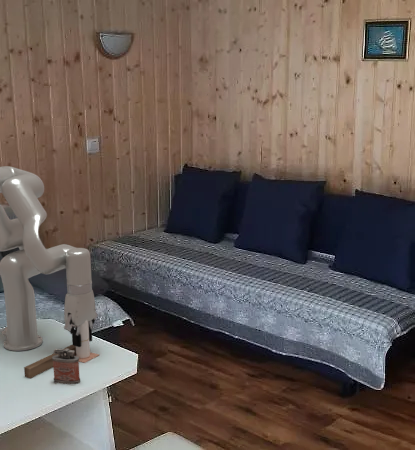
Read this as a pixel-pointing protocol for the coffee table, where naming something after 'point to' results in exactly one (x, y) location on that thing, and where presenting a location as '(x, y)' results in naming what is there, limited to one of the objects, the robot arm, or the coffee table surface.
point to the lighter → (66, 367)
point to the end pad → (92, 355)
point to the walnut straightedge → (43, 364)
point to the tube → (83, 341)
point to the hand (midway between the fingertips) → (82, 342)
